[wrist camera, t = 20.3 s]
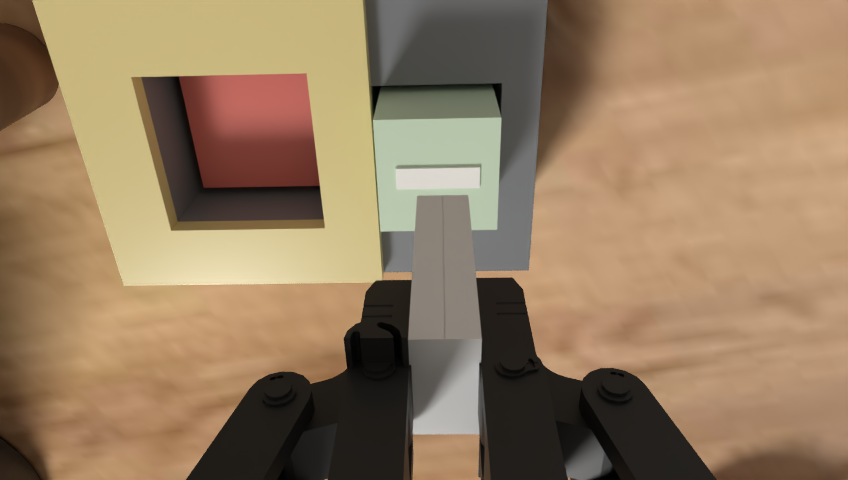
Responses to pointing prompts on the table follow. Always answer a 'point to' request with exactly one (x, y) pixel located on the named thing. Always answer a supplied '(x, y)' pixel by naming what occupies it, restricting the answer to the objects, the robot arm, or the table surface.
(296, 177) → the plunger
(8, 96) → the rounded rod
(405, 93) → the on button
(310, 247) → the breaker box
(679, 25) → the table surface
